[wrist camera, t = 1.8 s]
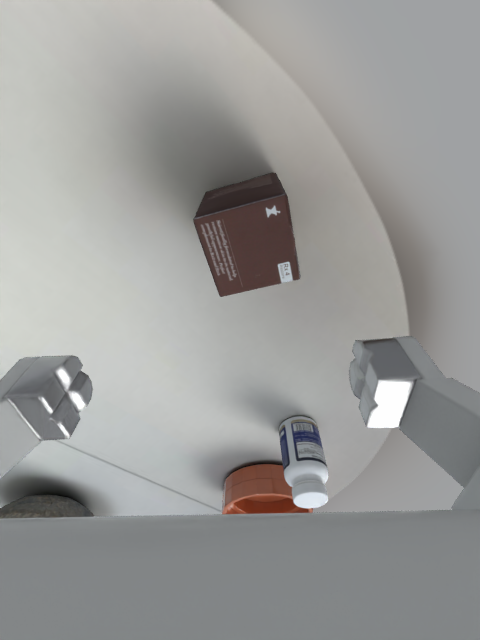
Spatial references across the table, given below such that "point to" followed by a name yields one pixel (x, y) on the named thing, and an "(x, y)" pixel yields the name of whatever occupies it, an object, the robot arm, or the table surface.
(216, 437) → the table surface
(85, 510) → the bowl
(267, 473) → the clay bowl
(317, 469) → the pill bottle
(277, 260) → the box
